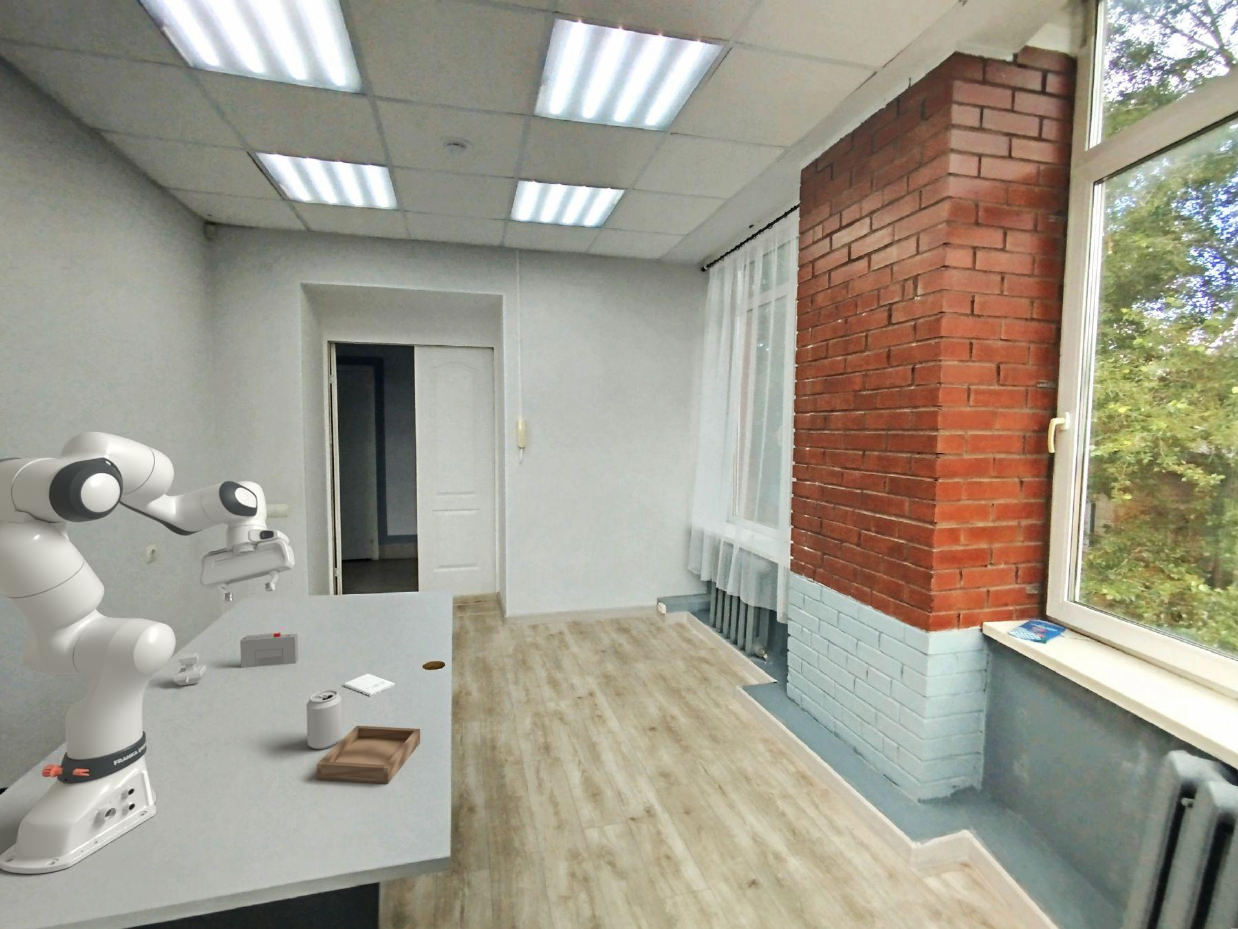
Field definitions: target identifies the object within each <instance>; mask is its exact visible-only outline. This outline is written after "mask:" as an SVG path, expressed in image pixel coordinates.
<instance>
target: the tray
mask: <svg viewBox="0 0 1238 929" xmlns="http://www.w3.org/2000/svg"><path fill="white" fill-rule="evenodd" d="M420 744H421V729H420V728H408V727H407V728H406V727H391V726H387V727H386V726H373V725H370V726H369V725H356V726H355V727H354V728H352V729H351V731H349V732H348V734H346V735H345V736H344V738H341V739H340V740H339V741H338V742H337V743H336V744H335V745H334V747H333V748H332V749H331V750H330V751H329V752H328V753H327V754H326V755H325V756H324V757H322V758H321V759H320V760H319V761H318V762H317V763H316V777H317V778H316V780H320V781H335V782H336V781H338V782H353V783H367V784H368V783H371V784H386V785H387V784H388V785H389V783H390V782H391V781H392V780H393V778H394V777H395V776H396V774H398V772H399V771H400V769H401V768H402V767H403V766H404V765H405V763H406V762H407V760H408V759H409V758H410V756H412V754H413V753H414V752H415V751H416V749H417V748H418V747H419V745H420ZM416 747H417V748H416Z"/></svg>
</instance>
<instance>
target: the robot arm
mask: <svg viewBox="0 0 1238 929" xmlns="http://www.w3.org/2000/svg"><path fill="white" fill-rule="evenodd" d="M174 477H175V469H174V466H173V463H172V461H171V460H170V458H169V457H168V456H167V455H166V454H164V452H161V451H160V450H157V449H156V448H153V447H150V446H149V445H146V444H143V443H142V442H139V441H136V440H133V439H131V438H127V437H125V436H120V435H117V434H112V433H109V432H103V431H96V430H95V431H94V430H93V431H84V432H81V433H79V434H76V435H75V436H73V437H71V438H70V439H69V440H68V441H67V442H66V443H64V446H63V447H62V449H61V452H60V455H59V457H58V458H53V457H26V458H25V457H23V458H21V457H7V458H1V459H0V592H1V594H2V595H3V596H4V597H5V598H6V599H7V600H8V601H9V602H10V605H12V606H13V608H14V610H16V611H17V612H18V614H19V615H20V616H21V617H22V619H23V620H24V621H25V622H26V624H27V627H28V628H29V631H30V633H29V634H28V636H27V637H26V639H25V641H24V643H23V644H22V645H23V646H22V649H21V651H22V652H21V655H22V656H21V657H22V660H23V662H24V664H25V666H27V668H29V669H30V670H32V671H36V672H40V673H42V674H47V675H51V676H55V677H72V678H73V677H77V678H78V677H79V678H82V677H83V678H87V679H88V681H89V688H88V692H87V694H86V696H84V697H83V698H81V699H79V700H78V701H77V702H76V703H74V704H73V705H72V706H71V707H70V709H69V710H68V711H67V713H66V715H65V717H64V718H65V719H64V721H65V724H64V726H65V743H66V744H65V746H66V752H65V753H64V754H63V758H62V760H61V763H60V765H59V764H57V765H54V764H48V765H46V766H44V768H43V769H42V770H41V776H42V777H43V778H49V777H50V778H56V780H55V781H54V782H53V784H52V785H51V786H50V787H49V788H48V789H47V791H46V792H45V793H44V794H43V795H42V796H41V798H40V799H39V800H38V801H37V802H36V803H35V804H34V806H33V807H31V809H30V810H29V812H27V813H26V815H25V816H24V817H23V818H22V819H21V820H20V823H19V826H18V829H17V835H16V842H15V843H14V844H13V845H12V846H10V847H9V848H7V849H6V850H5V851H3V853H1V854H0V869H1V870H2V871H6V872H10V873H15V874H28V875H29V874H30V875H31V874H32V875H33V874H45V873H52V872H57V871H60V870H64V869H67V868H70V867H72V866H74V865H76V864H77V863H78V862H80V861H82V860H83V859H86V858H87V857H88V856H90V855H92V854H94V853H95V852H96V851H98V850H99V849H101V848H103V847H105V846H106V845H108V844H110V843H112V842H113V841H115V840H116V839H118V838H120V837H121V836H123V835H124V834H125V833H128V832H130V831H131V830H132V829H134V828H136V827H137V826H139V825H140V824H143V823H144V822H146V821H147V820H149V819H151V818H152V817H154V816H155V815H156V814H157V807H156V805H155V803H156V801H157V795H156V792H155V791H154V788H153V786H152V783H151V780H150V776H149V771H148V767H147V763H146V757H145V754H146V752H147V750H148V749H147V748H148V747H147V737H146V736H147V735H146V732H145V731H144V728H143V727H144V726H143V710H144V709H143V708H144V707H143V704H144V703H143V702H144V695H145V692H146V688H147V686H148V684H149V682H150V680H151V679H152V677H153V676H154V675H155V674H156V673H157V672H159V671H160V670H161V669H162V668H164V667H165V666H166V665H167V663H169V661H170V660H171V658H172V656H173V654H174V652H175V649H176V645H177V643H176V642H177V640H176V635H175V633H174V632H175V631H174V630H173V628H172V627H171V626H170V625H168V624H166V623H164V622H159V621H155V620H152V619H146V618H142V617H141V618H140V617H138V618H136V617H134V618H133V617H109V616H106V615H103V614H102V613H100V612H99V611H98V610H97V608H98V606H99V605H100V604H101V602H102V600H103V598H104V595H105V587H104V584H103V582H102V581H101V580H100V578H99V577H98V576H97V574H96V573H95V571H94V570H93V569H92V567H91V566H90V564H88V562H87V561H86V559H85V558H84V556H83V555H82V554H81V552H79V550H78V548H77V547H75V545H74V544H73V543H72V542H71V540H70V538H69V536H68V533H67V522H71V523H85V522H92V521H96V520H100V519H103V518H105V517H107V516H108V515H110V514H111V513H112V512H114V510H115V509H116V508H117V506H118V505H122V506H123V507H125V508H126V509H128V510H131V511H132V512H135V513H137V514H140V515H142V516H144V517H147V518H149V519H152V520H153V521H156V522H158V523H160V524H161V525H162V526H164V527H165V528H166V529H168V530H169V531H171V532H172V533H175V534H177V535H180V536H182V537H183V536H185V537H186V536H192V535H193V534H196V533H198V532H202V531H204V530H207V529H209V528H213V527H217V526H219V525H222V524H225V525H227V529H226V534H225V538H226V545H225V546H226V547H224V548H223V547H222V548H219V549H217V550H211V551H208V552H207V554H205V555H204V556H203V557H202V558H201V571H200V577H199V578H200V579H199V583H200V585H201V586H203V587H204V588H207V589H209V590H210V589H212V590H213V589H215V588H216V589H217V590H218V591H219V592H220V594H222V601H223V602H224V603H228V602H232V601H234V598H233V597H234V594H233V593H232V592H230V591H229V592H228V591H227V589H229V585H233V584H236V583H241V582H245V581H248V580H253V579H257V578H261V577H265V576H266V577H267V576H270V579H269V581H268V582H266V583H264V586H265V591H266V592H273V591H276V583H277V582H278V579H279V577H280V573H282V572H286V571H290V570H293V568H294V567H295V564H296V563H295V562H296V560H295V556H294V555H295V554H294V551H293V548H292V546H291V545H289V544H290V539H289V537H288V536H287V535H286V534H285V533H284V532H281V531H280V530H278V529H277V530H276V529H268V526H267V522H266V521H267V518H268V513H267V512H268V508H267V502H266V496H265V494H264V490H263V488H262V486H260V484H259V483H256V482H255V481H249V480H238V481H232V480H227V481H222V482H218V483H215V484H212V485H208V486H206V487H203V488H199V489H196V490H192V491H189V492H186V493H182V494H176V495H167V494H166V493H167V492H168V491H169V489H170V488H171V487H172V484H173V481H174Z"/></svg>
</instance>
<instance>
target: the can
mask: <svg viewBox="0 0 1238 929" xmlns="http://www.w3.org/2000/svg"><path fill="white" fill-rule="evenodd" d="M342 703H343V702H342V696H341V695H340V694H339V691H337V690H336V689H323V690H319V691H316V692H314V693H312V694H311V695H310V696H309V700H308V701H307V703H306V733H307V734H306V737H307V742H306V743H307V745H308V746H309V747H310V748H312V749H314V750H325V749H329V748H331V747H333V746H336V745H337V744H338V743H339V742H340V741H341V740H342V737H343V715H342V714H343V712H342V711H343V710H342V706H343V705H342Z"/></svg>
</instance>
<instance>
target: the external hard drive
mask: <svg viewBox="0 0 1238 929" xmlns="http://www.w3.org/2000/svg"><path fill="white" fill-rule="evenodd" d="M394 685H395V686H396V683H395V682H393V681H390V680H387V679H384V678H381V677H378V676H376V675H373V674H371V673H366V674H364V675H363V674H362V675H361V676H358V677H356V678H354V679H351V680H349V681H346V682H345V683H344V684H343V687H344V686H346V687H345V688H347V687H348V688H347V689H349V688H351V689H350V690H352V689H353V690H352V691H354V690H357V691H359V692H358V693H360V692H363V693H365V694H368V695H370V696H371V695H373V694H376V693H377V692H380V693H382V692H383V691H382V690H384V691H386V690H385V689H387V688H389V689H391V688H392V687H391V686H393V687H395V686H394ZM390 687H391V688H390ZM387 690H388V689H387ZM357 691H356V692H357ZM381 691H382V692H381ZM365 694H364V695H365ZM376 695H377V694H376ZM370 696H369V697H370ZM371 697H372V696H371Z"/></svg>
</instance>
